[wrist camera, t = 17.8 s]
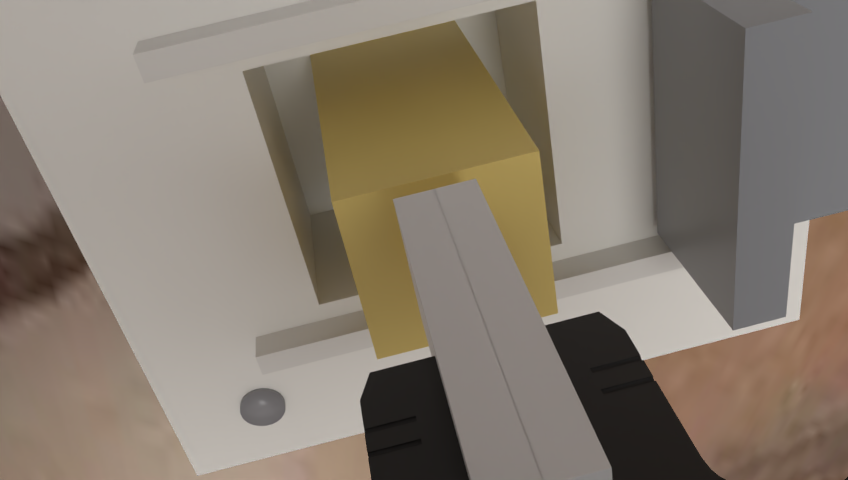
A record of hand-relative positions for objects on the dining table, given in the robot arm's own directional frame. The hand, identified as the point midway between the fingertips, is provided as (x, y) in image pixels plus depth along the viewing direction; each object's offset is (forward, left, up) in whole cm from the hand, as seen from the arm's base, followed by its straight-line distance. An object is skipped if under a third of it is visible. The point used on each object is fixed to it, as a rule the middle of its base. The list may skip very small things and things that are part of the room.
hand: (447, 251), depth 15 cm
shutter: (+1, +9, -4) cm, 10 cm away
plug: (+1, 0, -9) cm, 9 cm away
